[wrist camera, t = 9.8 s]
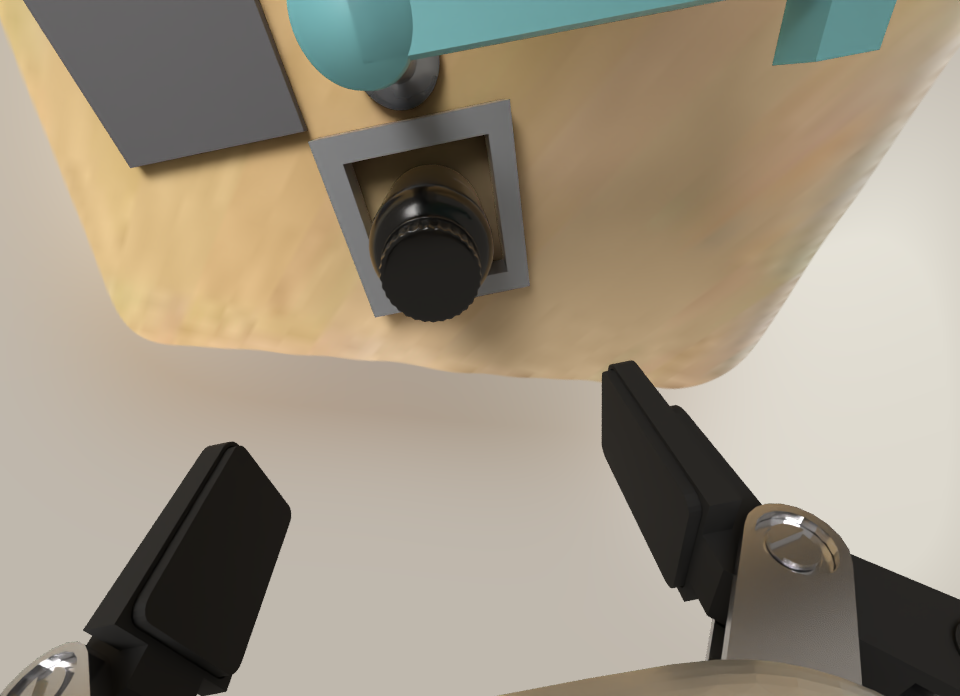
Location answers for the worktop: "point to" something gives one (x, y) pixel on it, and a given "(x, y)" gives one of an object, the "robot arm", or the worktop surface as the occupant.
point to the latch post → (410, 85)
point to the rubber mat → (174, 72)
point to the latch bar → (535, 29)
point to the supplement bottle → (431, 243)
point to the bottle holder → (413, 134)
